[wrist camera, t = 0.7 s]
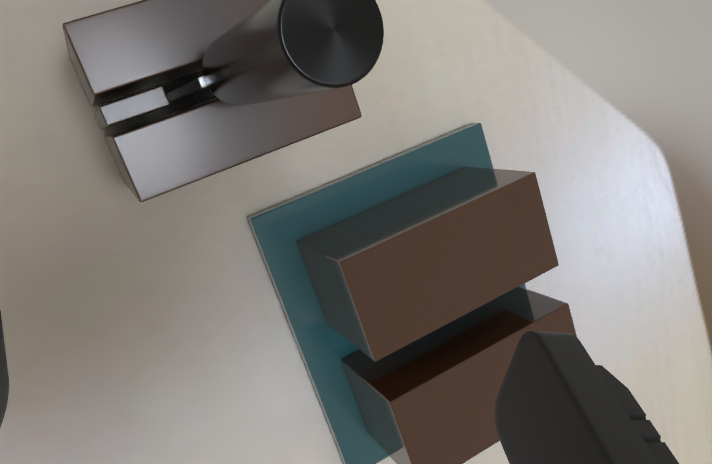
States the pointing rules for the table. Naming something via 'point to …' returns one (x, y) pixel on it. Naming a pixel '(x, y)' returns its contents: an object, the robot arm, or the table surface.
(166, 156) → the knife block
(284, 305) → the twin blocks on tray
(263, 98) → the knife
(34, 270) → the table surface
